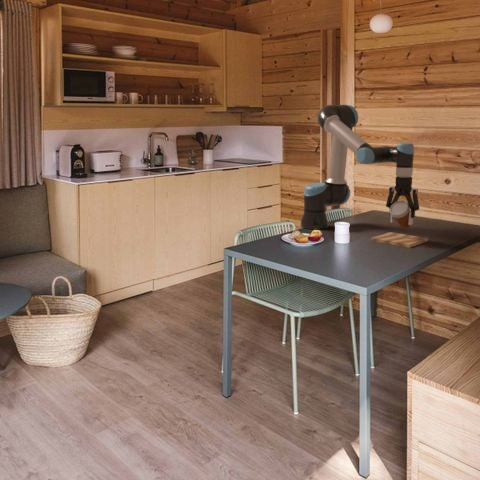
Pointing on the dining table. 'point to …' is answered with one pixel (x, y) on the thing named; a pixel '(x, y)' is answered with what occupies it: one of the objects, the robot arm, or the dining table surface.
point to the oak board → (399, 239)
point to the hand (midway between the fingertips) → (401, 223)
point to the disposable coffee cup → (401, 213)
